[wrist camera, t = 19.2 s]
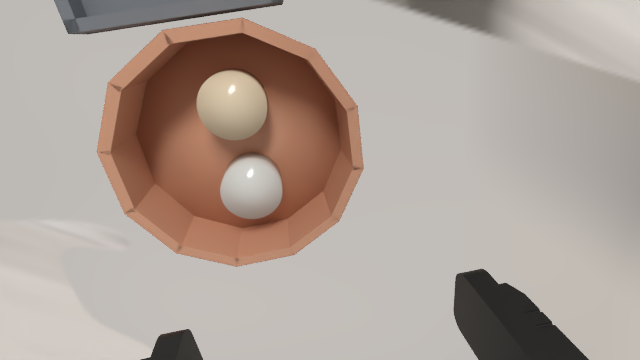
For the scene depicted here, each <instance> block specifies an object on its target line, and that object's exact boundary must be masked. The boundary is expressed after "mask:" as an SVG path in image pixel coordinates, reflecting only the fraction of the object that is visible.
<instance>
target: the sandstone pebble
mask: <svg viewBox="0 0 640 360" xmlns="http://www.w3.org/2000/svg"><path fill="white" fill-rule="evenodd" d="M197 111H198V114H199V117H200V119H201V121H202V123H203V124H204V126H205V127H206V128H207V129H208V130H209V131H210V132H212V133H213V134H214V135H216V136H218V137H220V138H223V139H227V140H242V139H246V138H248V137H250V136H252V135H254V134H255V133H256V132H257V131H259V129H260V128H261V127H262V125H263V124H264V121H265V119H266V115H267V94H266V91H265V88H264V86H263V85H262V83H261V82H260V80H259V79H258V78H257V77H256V76H254V75H253V74H252V73H250V72H248V71H246V70H243V69H239V68H227V69H223V70H221V71H219V72H217V73H216V74H214V75H213V76H211V77H210V78H208V79H207V80H206V81H205V82H204V83H203V85H202V86H201V88H200V90H199V92H198V96H197Z"/></svg>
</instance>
